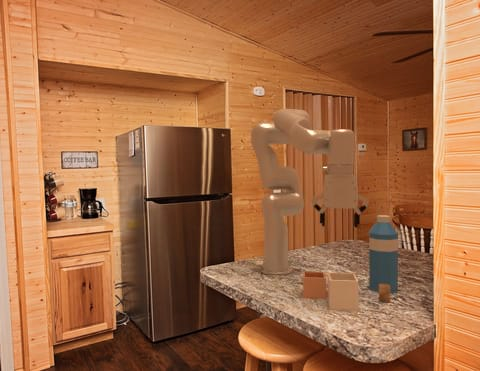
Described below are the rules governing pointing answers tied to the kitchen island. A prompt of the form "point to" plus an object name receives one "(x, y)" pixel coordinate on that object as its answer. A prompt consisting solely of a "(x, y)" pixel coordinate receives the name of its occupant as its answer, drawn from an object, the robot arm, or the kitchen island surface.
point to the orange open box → (314, 285)
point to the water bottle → (383, 254)
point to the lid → (384, 293)
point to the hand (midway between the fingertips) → (339, 226)
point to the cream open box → (343, 291)
